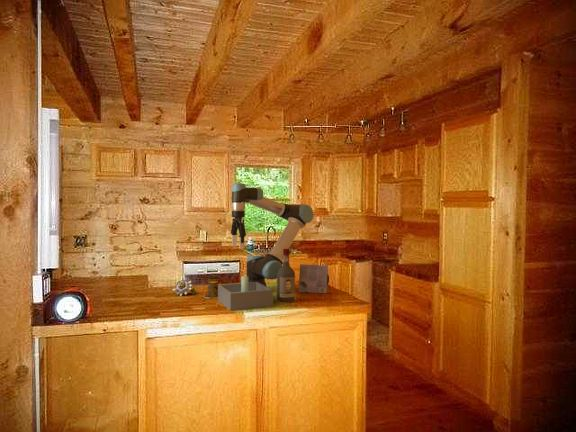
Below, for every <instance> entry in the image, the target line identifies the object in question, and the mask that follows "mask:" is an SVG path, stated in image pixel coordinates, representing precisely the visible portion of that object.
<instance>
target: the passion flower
mask: <svg viewBox="0 0 576 432" xmlns="http://www.w3.org/2000/svg"><path fill="white" fill-rule="evenodd" d="M186 280H187V279H186V278H184V277H183V279H181V280H178V281H176V283H175V286H174V288H172V289H171V291H172V292H176V295H177V296H178V295H179V297H182V296H183V295H187V294H188V291H190V292H191V295H193V296H194V295H195V294H196V290H195V285H194V283H192V280H188V281H186ZM191 283H192V284H191Z"/></svg>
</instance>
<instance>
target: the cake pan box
mask: <svg viewBox="0 0 576 432" xmlns="http://www.w3.org/2000/svg"><path fill="white" fill-rule="evenodd" d="M298 275H299V276H298V292H299V293H306V292H308V293H310V294H327V293H328V285H329V281H330V277H329V265H322V264H305V263H301V264H299V273H298Z"/></svg>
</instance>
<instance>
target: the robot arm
mask: <svg viewBox="0 0 576 432" xmlns="http://www.w3.org/2000/svg"><path fill="white" fill-rule="evenodd" d="M246 203H247V204H249V205H251V206H255V207H258V208H259V209H262V210H264V211H267V212H271V213H272V214H275V216H276V217H279V218H280V219H283V220H286V221H288V222H287V224H286V226H285V228H284V229H283V231H282V233H281V234H280V235H279V237H278V239H277V241H276V243H275V244H274V246H273V247H272V249H271V251H270V252H267V253H266V254H265V255H249V256H247V258H246V261H245V262H246V276H248V277H249V281H248V283H249V282H258V283H260V284H262V285H264V286H266V287H268V286H267V283H266V280H271V281H272V280H277V272H278V270H279V269H280V268H281V267H282V266H283V249H289V250H290V247H291V245H292V244H293V242H294V240H295V238H297V237H296V236H297V235H298V234H299V232H300V230H301V229H304V227H305V226H306V225H307V224H309V223H311V222H312V221H313V220H314V209H313V208H312V206H310V205H309V204H306V203H302V204H295V203H294V204H293V203H291V204H290V203H284V202H279V201H275V200H273V199H271V198H269V197H266V196H264V190H263V188H261V187H249V186H246V184H245V183H243V182H239V183H237V182H236V183H235V182H234V183H232V185H231V205H230V206H231V210H232V211H231V218H232V219H231V220H232V223H231V230H230V235H231V247H237V246H238V243H239V246H238V248H239V250H241V249H242V250H244V249H245V238H246V236H247V231H246V225H245V219H244V218H245V217H246V211H245V210H246ZM238 233H239V235H238ZM237 237H238V239H239V242H238V239H237ZM237 242H238V243H237Z"/></svg>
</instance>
